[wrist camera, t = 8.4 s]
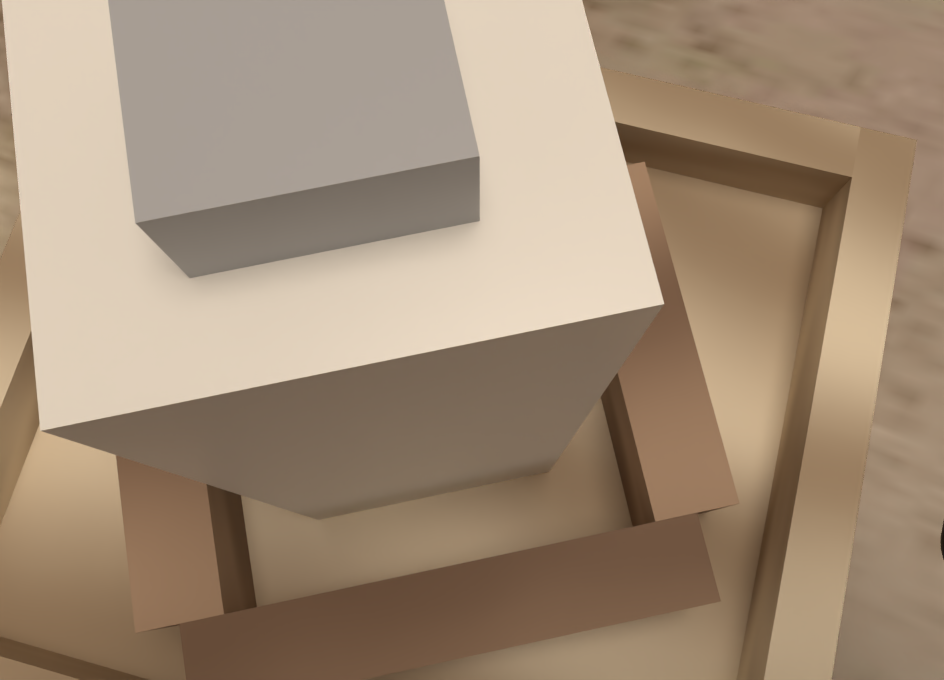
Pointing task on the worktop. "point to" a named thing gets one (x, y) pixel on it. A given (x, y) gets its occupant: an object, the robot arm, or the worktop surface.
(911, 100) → the worktop surface
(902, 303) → the worktop surface
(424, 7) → the white tall post
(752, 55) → the worktop surface
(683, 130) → the tray
